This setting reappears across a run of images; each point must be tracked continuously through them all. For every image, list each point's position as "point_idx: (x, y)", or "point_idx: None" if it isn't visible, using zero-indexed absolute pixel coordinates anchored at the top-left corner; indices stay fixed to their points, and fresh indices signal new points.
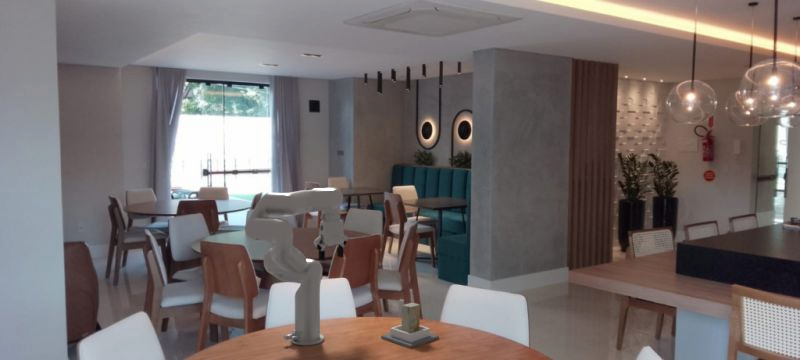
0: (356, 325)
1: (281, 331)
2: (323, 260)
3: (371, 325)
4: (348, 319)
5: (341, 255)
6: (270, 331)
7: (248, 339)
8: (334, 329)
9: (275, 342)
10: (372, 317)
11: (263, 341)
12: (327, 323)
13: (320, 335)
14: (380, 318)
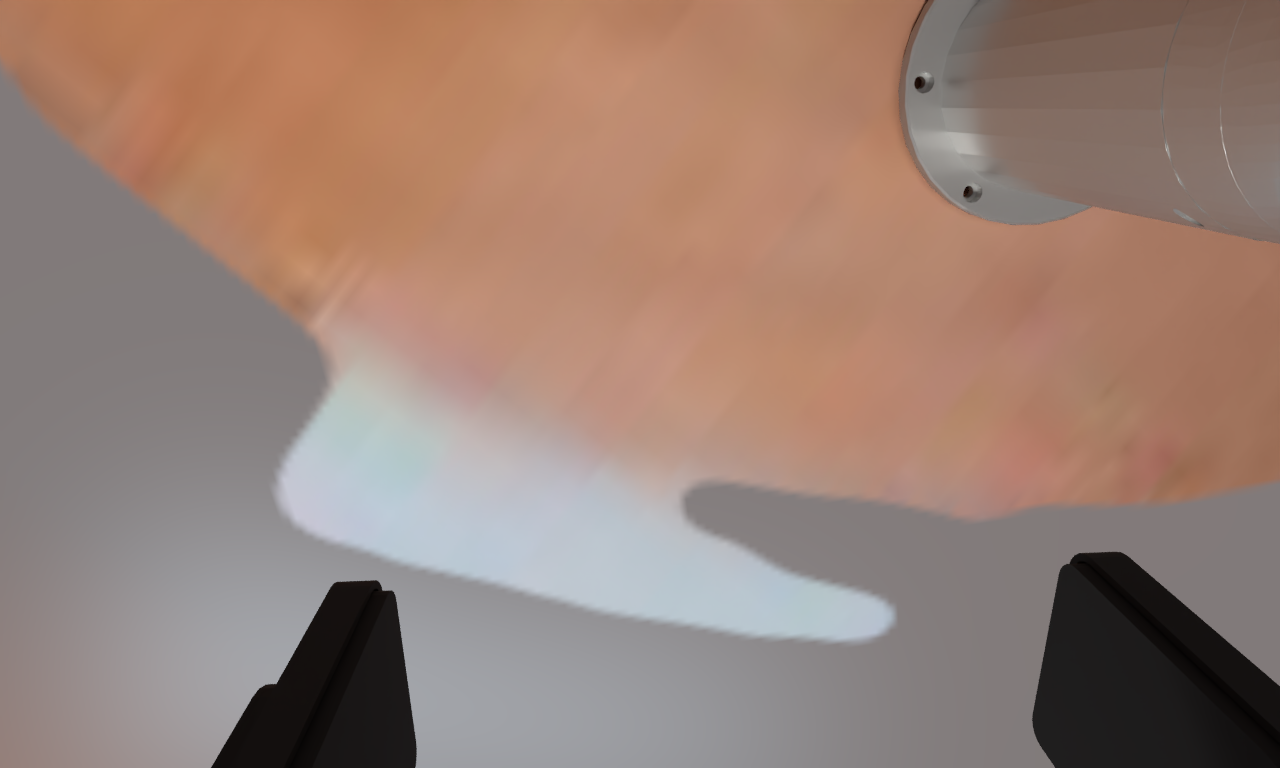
0: (461, 113)
1: (1005, 412)
2: (1111, 552)
3: (345, 5)
4: (413, 307)
5: (379, 628)
6: (1055, 464)
7: (1272, 416)
8: (683, 162)
9: None
10: (191, 203)
11: (1247, 307)
12: (623, 338)
13: (941, 38)
14: (140, 122)
